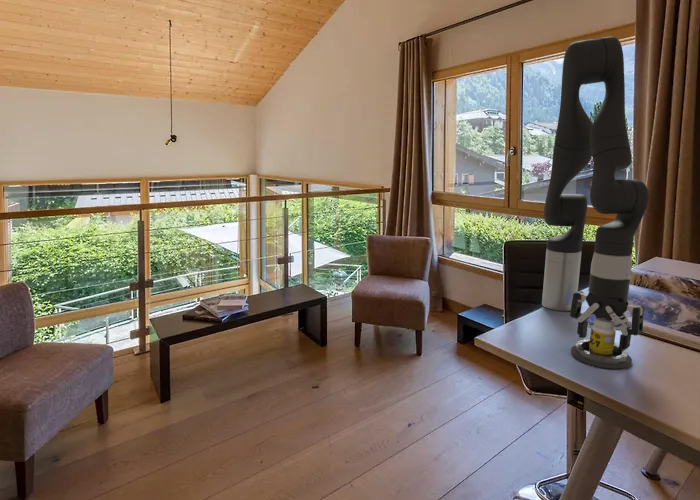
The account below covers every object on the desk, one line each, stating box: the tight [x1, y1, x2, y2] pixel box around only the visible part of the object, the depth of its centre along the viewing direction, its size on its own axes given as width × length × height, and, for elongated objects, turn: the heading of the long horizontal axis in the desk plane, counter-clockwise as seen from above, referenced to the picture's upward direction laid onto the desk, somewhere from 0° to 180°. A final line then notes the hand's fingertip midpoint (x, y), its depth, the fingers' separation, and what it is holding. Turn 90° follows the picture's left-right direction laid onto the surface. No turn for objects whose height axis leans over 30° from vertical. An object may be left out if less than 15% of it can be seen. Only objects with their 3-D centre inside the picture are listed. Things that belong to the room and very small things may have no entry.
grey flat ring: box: [570, 338, 633, 371], centre depth 101 cm, size 12×12×2 cm
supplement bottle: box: [589, 317, 617, 357], centre depth 100 cm, size 5×5×8 cm
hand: (602, 343), depth 100 cm, fingers open, 8 cm apart
